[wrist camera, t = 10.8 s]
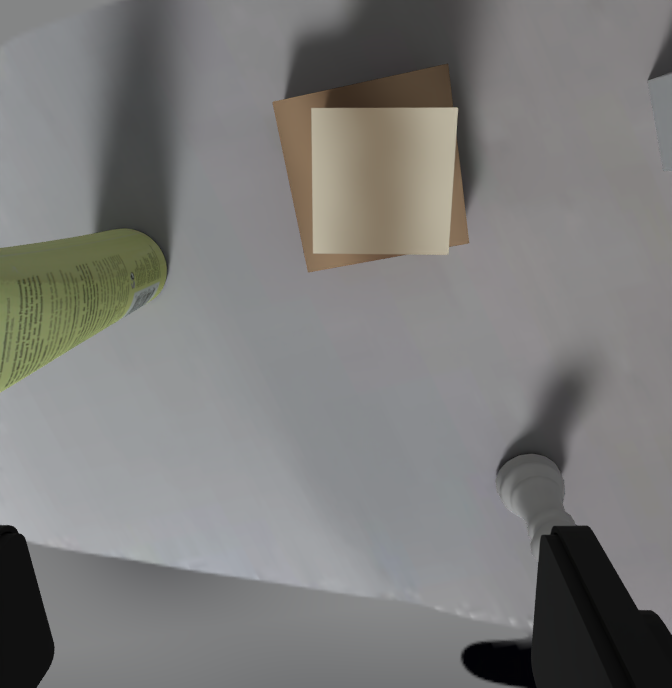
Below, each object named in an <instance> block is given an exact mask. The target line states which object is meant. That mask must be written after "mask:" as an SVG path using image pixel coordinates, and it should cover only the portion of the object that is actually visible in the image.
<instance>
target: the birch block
mask: <svg viewBox="0 0 672 688" xmlns="http://www.w3.org/2000/svg"><path fill="white" fill-rule="evenodd" d="M457 116H458V108H311V121H312V209H313V253H317V254H414V255H448V253H449V237H450V222H451V207H452V192H453V177H454V162H455V147H456V132H457Z"/></svg>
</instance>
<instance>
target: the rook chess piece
mask: <svg viewBox="0 0 672 688" xmlns="http://www.w3.org/2000/svg"><path fill="white" fill-rule="evenodd" d="M496 489H497V493H498V494H499V496H500V498H501V500H502V502H503V503H504V505H505V506H506V508H507V509H508V510H509V511H511V512H512V513H514V514H515V515H517V516H519V517H521V518H522V519H524V521H525V522H526V524H527V525H528V527H527V530H528V536H529V538H530V539H531V544H530V546H531V554H532V555H533V557H534V558H535V560H536V561H537V562H538V560H539V547H540V538H541V535H550V534H551V529H552V527H553V526H577V525H576V524H575V522H574V520H573V519H572V517H571V515H569V514H568V513H566V512H565V509H564V506H563V500H564V495H565V487H564V479H563V478H562V476H561V472H560V471H559V469H558V467H557V466H556V464H555V463H554V462H553V461H551V460H550V459H548V458H547V457H545V456H541V455H537V454H526V455H519V456H517V457H515V458H513V459H511V460H509V461H507V462H506V464H505V465H504V466H503V467H502V468H501V469H500V470H499V473H498V476H497V478H496Z"/></svg>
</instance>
